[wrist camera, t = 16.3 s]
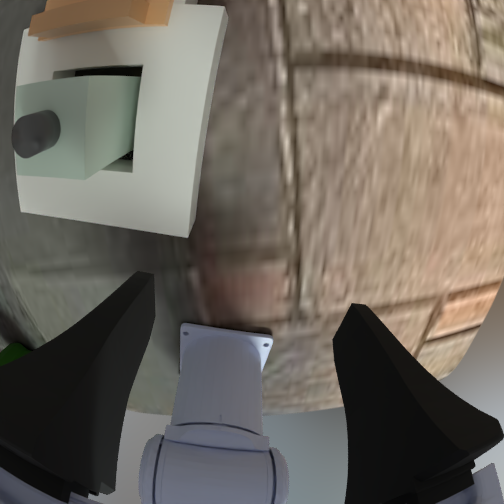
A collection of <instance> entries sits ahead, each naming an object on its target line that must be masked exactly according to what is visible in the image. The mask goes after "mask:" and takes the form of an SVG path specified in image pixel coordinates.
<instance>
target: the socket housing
mask: <svg viewBox="0 0 504 504" xmlns="http://www.w3.org/2000/svg"><path fill="white" fill-rule="evenodd" d="M197 2H198V0H174V2H173V6H172V10H171V14H170V18H169V22H168V26H155V27H132V28H119V29H109V30H101V31H94V32H87V33H81V34H75V35H70V36H65V37H60V38H56V39H52V40H47V41H38V37H32V36H28V32H29V28H27V29H24V32H23V37H22V43H21V48H20V54H19V61H18V69H17V77H16V86H20V85H25V84H30V83H36V82H41V81H48V80H54V79H62V78H70V77H75V71H79V70H90V69H103V68H124V67H143V70H142V77H141V83H140V91H139V98H138V107H137V116H136V126H135V138H134V153H133V160H125V159H117V160H115V161H114V162H112V163H110V164H109V165H107V166H106V167H104V168H103V169H101V170H100V171H98V172H96V173H95V174H93V175H92V176H90V177H89V178H88V179H86V180H78V179H66V178H53V177H39V176H22V175H17V167H16V177H17V187H18V195H19V202H20V208H21V212H26V213H33V214H39V215H46V216H52V217H59V218H65V219H71V220H78V221H84V222H91V223H97V224H103V225H110V226H116V227H122V228H129V229H135V230H141V231H147V232H154V233H160V234H166V235H172V236H179V237H185V238H188V236H189V234H190V231H191V229H192V226H193V224H194V222H195V218H196V209H197V200H198V192H199V184H200V176H201V168H202V161H203V154H204V147H205V140H206V134H207V127H208V121H209V115H210V109H211V103H212V97H213V92H214V86H215V81H216V76H217V70H218V65H219V60H220V55H221V51H222V46H223V41H224V37H225V32H226V28H227V23H228V19H229V18H228V15H227V12H226V9H225V6H213V5H197ZM15 100H16V88H15ZM14 125H15V104H14ZM15 166H16V152H15Z"/></svg>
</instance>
